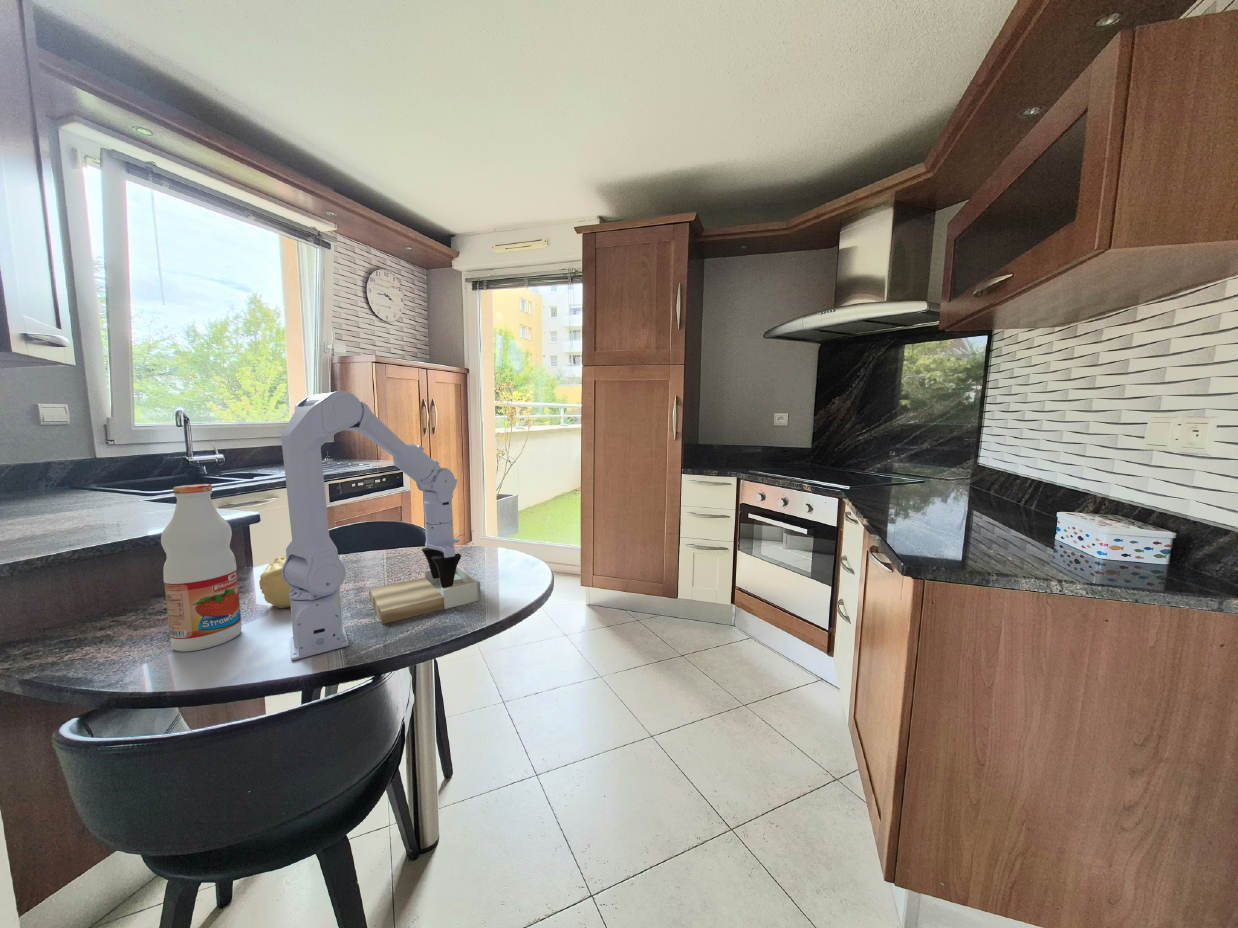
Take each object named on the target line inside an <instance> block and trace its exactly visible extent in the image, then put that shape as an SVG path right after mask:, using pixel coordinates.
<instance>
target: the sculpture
mask: <svg viewBox="0 0 1238 928" xmlns="http://www.w3.org/2000/svg"><path fill="white" fill-rule="evenodd" d="M285 561H286V555H281V556H277V557H275V559H274V560H273V561H271V562H269V564H268V565H267V566H266V567H265V570H264V571H263V572H262V573H261V574H260V576H259V578H260V579H259V581H258V583H259V588H260V590H261V593H262V594H263V595H264V596H263V597H264V598H263V599H264V600H265V601H266V603H268V604H270V605H272V606H273V607H275V608H279V609H284V608H285V609H286V608H291V606H290V595H289V594H290V590H291V585H289V584H287V583H286V582H285V581H284V579H283V577H282V568H283V565H284V563H285Z"/></svg>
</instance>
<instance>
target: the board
mask: <svg viewBox="0 0 1238 928" xmlns="http://www.w3.org/2000/svg"><path fill="white" fill-rule="evenodd" d="M368 592H369V601H370V603H371V605H372V608H373V609H374V611H375V613H376V615H377V617H378V620H379V621H380V624H381V625H385V624H388V623H392V622H396V621H400V620H405V619H408V618H409V619H410V618H413V617H418V616H421V615H424V614H430V613H432V612H437V611H440V610H445V609H444V597H443V596H442V595H441V594H440V592H439V591H438V590H437V589H436V588H435V587H434V586H433V585H432V584H431V583H430V582H429V581H428V580H427V579H426V578H425V576H422V577H419V578H414V579H410V580H404V581H399V582H394V583H390V584H385V585H380V586H374V587H371V588H368Z"/></svg>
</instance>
